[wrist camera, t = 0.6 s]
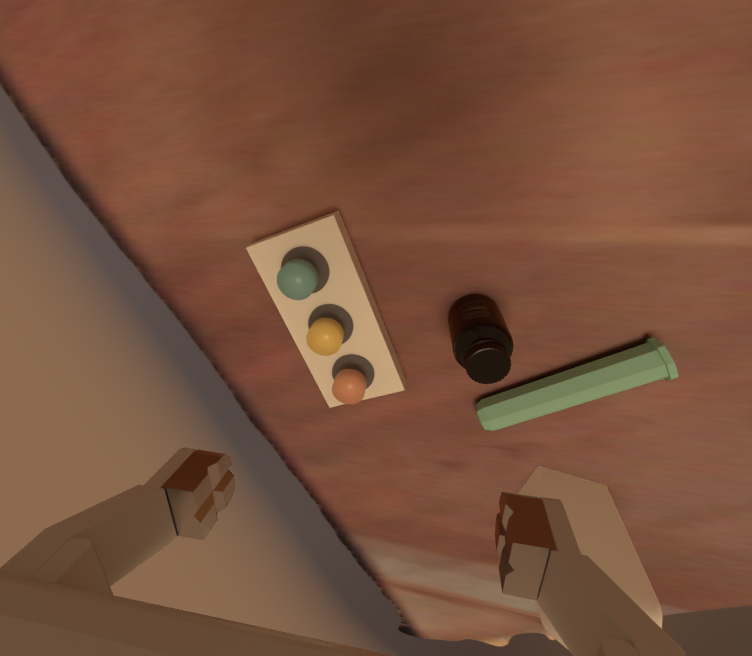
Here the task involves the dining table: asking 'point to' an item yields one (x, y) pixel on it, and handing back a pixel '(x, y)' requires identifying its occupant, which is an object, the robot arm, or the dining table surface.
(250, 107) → the dining table surface
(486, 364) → the supplement bottle
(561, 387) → the container
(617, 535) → the milk
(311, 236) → the button panel
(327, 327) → the mustard button
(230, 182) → the dining table surface
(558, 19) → the dining table surface
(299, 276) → the teal button
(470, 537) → the dining table surface
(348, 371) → the terracotta button
